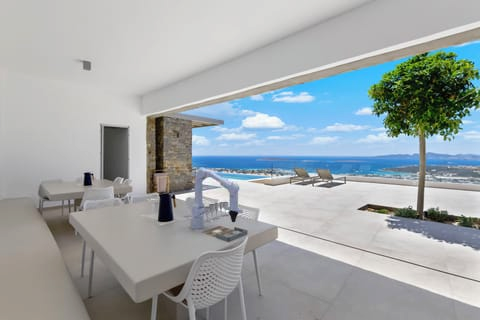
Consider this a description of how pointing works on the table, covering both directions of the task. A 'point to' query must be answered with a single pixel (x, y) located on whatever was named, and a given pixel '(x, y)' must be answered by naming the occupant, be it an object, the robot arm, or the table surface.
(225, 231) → the walnut board
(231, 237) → the tray
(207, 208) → the goblet set
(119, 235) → the table surface
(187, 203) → the heart sculpture
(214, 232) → the cream tile
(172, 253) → the table surface
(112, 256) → the table surface
